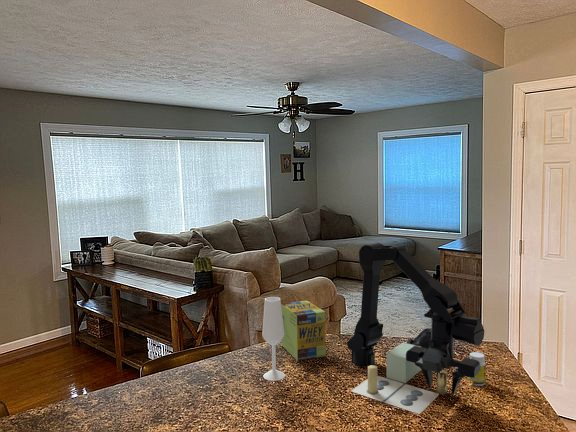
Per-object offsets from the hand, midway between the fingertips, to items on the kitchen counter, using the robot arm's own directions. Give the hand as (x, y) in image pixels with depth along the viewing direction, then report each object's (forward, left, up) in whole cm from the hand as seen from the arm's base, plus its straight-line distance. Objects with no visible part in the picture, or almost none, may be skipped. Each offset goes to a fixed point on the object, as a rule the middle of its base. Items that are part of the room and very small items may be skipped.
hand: (441, 390), depth 126 cm
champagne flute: (-45, -18, -2) cm, 49 cm away
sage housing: (-13, +4, -2) cm, 14 cm away
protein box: (-50, +3, -2) cm, 50 cm away
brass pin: (0, 0, -2) cm, 2 cm away
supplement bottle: (+5, +14, -2) cm, 15 cm away
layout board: (-10, -8, -2) cm, 13 cm away
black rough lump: (-15, +23, -2) cm, 28 cm away
